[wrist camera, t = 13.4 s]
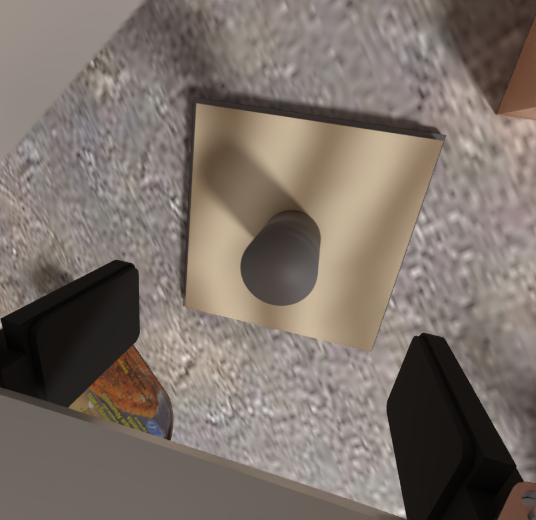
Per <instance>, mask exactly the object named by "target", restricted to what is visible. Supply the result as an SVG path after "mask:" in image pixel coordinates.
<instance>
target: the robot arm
mask: <svg viewBox="0 0 536 520" xmlns="http://www.w3.org/2000/svg"><path fill="white" fill-rule="evenodd" d="M1 322H2V327H3V329H2V330H0V520H536V483H531V482H524V481H523V479H522V477H521V475H520V474H519V472H518V470H517V468H516V467H517V466H516V464H515V462H514V460H513V459H512V457H511V455H510V453H509V452H508V450H507V448H506V446H505V445H504V443H503V441H502V439H501V437H500V436H499V434H498V432H497V430H496V429H495V427H494V425H493V423H492V421H491V420H490V418H489V416H488V414H487V413H486V411H485V409H484V407H483V406H482V404H481V402H480V400H479V398H478V397H477V395H476V393H475V391H474V390H473V388H472V386H471V384H470V382H469V381H468V379H467V377H466V375H465V374H464V372H463V370H462V368H461V367H460V365H459V363H458V361H457V359H456V358H455V356H454V354H453V352H452V351H451V349H450V347H449V345H448V343H447V342H446V340H445V339H444V338H443V337H439V336H435V335H431V334H427V333H422V334H421V335H420V336H414V337H413V339H412V341H411V344H410V346H409V349H408V351H407V354H406V356H405V359H404V361H403V364H402V366H401V368H400V371H399V373H398V376H397V378H396V381H395V383H394V386H393V388H392V391H391V393H390V396H389V398H388V401H387V416H388V422H389V427H390V432H391V437H392V443H393V448H394V453H395V459H396V464H397V469H398V474H399V480H400V485H401V490H402V496H403V501H404V506H405V511H406V517H407V519H404V518H402V517H399V516H396V515H393V514H390V513H387V512H384V511H381V510H379V509H376V508H373V507H370V506H367V505H364V504H361V503H359V502H356V501H353V500H350V499H347V498H344V497H341V496H338V495H335V494H332V493H329V492H326V491H323V490H320V489H316V488H313V487H310V486H307V485H304V484H301V483H298V482H295V481H292V480H289V479H286V478H283V477H280V476H277V475H274V474H271V473H268V472H265V471H262V470H259V469H256V468H253V467H250V466H247V465H244V464H241V463H238V462H235V461H231V460H228V459H225V458H222V457H219V456H216V455H213V454H210V453H207V452H204V451H201V450H198V449H194V448H191V447H188V446H185V445H182V444H179V443H176V442H173V441H170V440H167V439H163V438H160V437H157V436H154V435H151V434H148V433H145V432H142V431H139V430H136V429H132V428H129V427H126V426H123V425H120V424H117V423H114V422H110V421H107V420H104V419H101V418H98V417H95V416H92V415H88V414H85V413H82V412H79V411H76V410H73V409H69V408H68V407H69V406H70V405H71V404H72V403H73V402H75V401H76V400H77V399H78V398H79V397H80V396H81V395H82V394H83V393H84V392H85V391H86V390H87V389H88V388H89V387H90V386H91V385H92V384H93V383H94V382H95V381H96V380H97V379H98V378H99V377H100V376H101V375H102V374H103V373H104V372H105V371H106V370H107V369H108V368H109V367H110V366H111V365H113V364H114V363H115V362H116V361H117V360H118V359H119V358H120V357H121V356H122V355H123V354H124V353H125V352H126V351H127V350H128V349H129V348H130V347H131V346H132V345H133V344H134V343H135V342H136V341H137V339H138V337H139V334H140V319H139V273H138V270H137V269H136V268H135V266H134V264H132V263H128V262H124V261H120V260H114V261H112V262H110V263H108V264H106V265H104V266H102V267H100V268H98V269H96V270H94V271H92V272H91V273H89V274H87V275H85V276H83V277H81V278H79V279H77V280H75V281H73V282H71V283H69V284H67V285H65V286H63V287H61V288H59V289H57V290H55V291H53V292H51V293H50V294H48V295H46V296H44V297H42V298H40V299H38V300H36V301H34V302H32V303H30V304H28V305H26V306H24V307H22V308H20V309H18V310H16V311H14V312H12V313H11V314H9V315H7V316H5V317H3V318H1Z"/></svg>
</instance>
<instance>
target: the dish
mask: <svg viewBox="0 0 536 520" xmlns="http://www.w3.org/2000/svg"><path fill="white" fill-rule="evenodd" d="M497 115H501V116H509V117H516V118H523V119H530V120H536V16H535V18H534V21H533V23H532V26H531V28H530V31H529V34H528V36H527V39H526V41H525V44H524V46H523V49H522V51H521V54H520V56H519V59H518V61H517V64H516V67H515V69H514V72H513V74H512V77H511V79H510V82H509V84H508V87H507V89H506V92H505V95H504V97H503V100H502V102H501V105H500V107H499V110H498V112H497Z"/></svg>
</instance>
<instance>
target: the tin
mask: <svg viewBox="0 0 536 520" xmlns="http://www.w3.org/2000/svg"><path fill="white" fill-rule="evenodd" d="M68 408H69V409H73V410H76V411H79V412H82V413H85V414H88V415H92V416H95V417H98V418H101V419H104V420H107V421H110V422H114V423H117V424H120V425H123V426H126V427H129V428H132V429H136V430H139V431H142V432H145V433H148V434H151V435H154V436H157V437H160V438H163V439H167V440H170V441H171V437H172V431H173V411H172V406H171V402H170V399H169V397H168V395H167V393H166V391H165V390H164V388H163V387H162V386H161V384H160V383H159V381H158V380H157V379H156V377H155V376H154V374H153V373H152V372H151V370H150V369H149V367H148V366H147V364H146V363H145V362H144V360H143V359H142V357H141V356H140V354H139V353H138V352H137V350H136V349H135V347H134V346H133V345H132V346H131V347H130V348H129V349H128V350H127V351H126V352H125V353H124V354H123V355H122V356H121V357H120V358H119V359H118V360H117V361H116V362H115V363H114V364H113V365H111V366H110V367H109V368H108V369H107V370H106V371H105V372H104V373H103V374H102V375H101V376H100V377H99V378H98V379H97V380H96V381H95V382H94V383H93V384H92V385H91V386H90V387H89V388H88V389H87V390H86V391H85V392H84V393H83V394H82V395H81V396H80V397H79V398H78V399H77V400H76V401H75V402H73V403H72V404H71V405H70V406H69V407H68Z"/></svg>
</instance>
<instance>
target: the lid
mask: <svg viewBox="0 0 536 520" xmlns="http://www.w3.org/2000/svg"><path fill="white" fill-rule="evenodd" d="M442 144H443V141H441V140H434V139H428V138H421V137H415V136H408V135H401V134H395V133H388V132H382V131H375V130H369V129H362V128H355V127H349V126H342V125H336V124H329V123H323V122H316V121H310V120H303V119H296V118H290V117H283V116H277V115H270V114H264V113H257V112H250V111H244V110H237V109H231V108H224V107H218V106H211V105H204V104H198V103H196V119H195V138H194V156H193V174H192V192H191V211H190V229H189V247H188V266H187V284H186V302H185V307H187V308H191V309H195V310H199V311H204V312H208V313H212V314H216V315H220V316H224V317H229V318H233V319H237V320H241V321H245V322H249V323H254V324H258V325H262V326H266V327H270V328H274V329H279V330H283V331H287V332H291V333H295V334H299V335H304V336H308V337H312V338H316V339H320V340H324V341H329V342H333V343H337V344H341V345H345V346H349V347H354V348H358V349H362V350H366V351H370V352H371V350H372V347H373V345H374V342H375V339H376V336H377V333H378V330H379V327H380V324H381V321H382V318H383V315H384V313H385V310H386V307H387V304H388V301H389V298H390V295H391V292H392V289H393V286H394V284H395V281H396V278H397V275H398V272H399V269H400V266H401V263H402V260H403V257H404V254H405V252H406V249H407V246H408V243H409V240H410V237H411V234H412V231H413V228H414V225H415V222H416V220H417V217H418V214H419V211H420V208H421V205H422V202H423V199H424V196H425V193H426V190H427V188H428V185H429V182H430V179H431V176H432V173H433V170H434V167H435V164H436V161H437V158H438V156H439V153H440V150H441V147H442Z"/></svg>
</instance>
